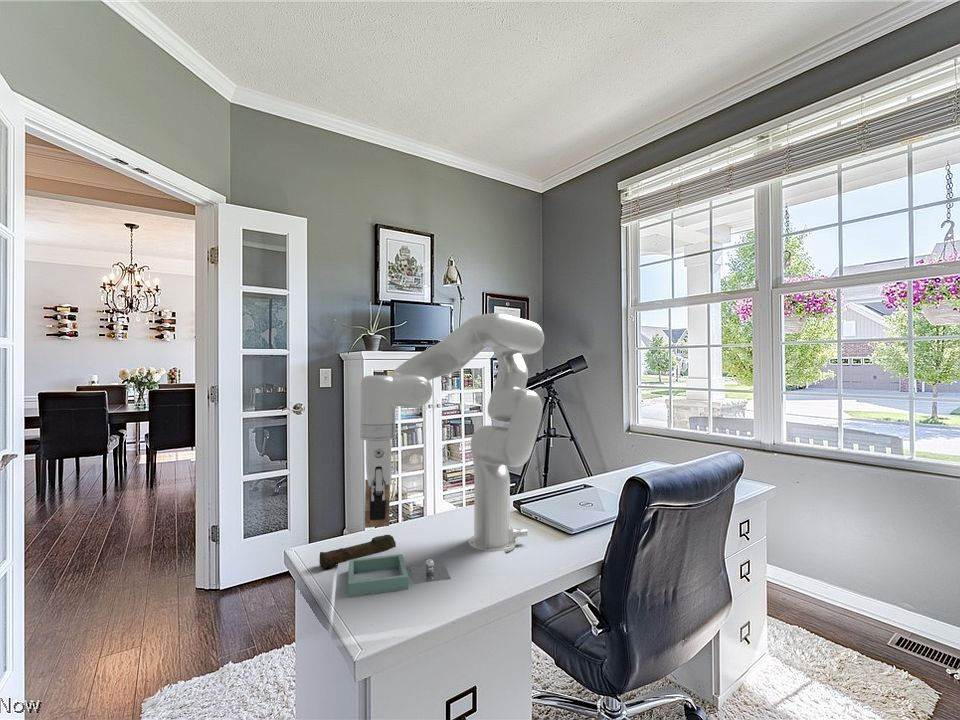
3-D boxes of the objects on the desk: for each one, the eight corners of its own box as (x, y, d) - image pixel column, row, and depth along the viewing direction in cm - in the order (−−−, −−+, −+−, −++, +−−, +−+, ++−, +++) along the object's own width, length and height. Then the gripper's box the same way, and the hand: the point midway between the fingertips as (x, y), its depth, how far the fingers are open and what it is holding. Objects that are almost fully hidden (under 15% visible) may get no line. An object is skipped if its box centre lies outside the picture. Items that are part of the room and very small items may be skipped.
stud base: (443, 567, 106) (443, 550, 106) (450, 583, 98) (450, 564, 98) (409, 571, 103) (409, 554, 104) (414, 588, 96) (414, 569, 96)
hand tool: (322, 573, 103) (322, 552, 104) (318, 566, 107) (318, 546, 107) (399, 555, 114) (399, 536, 114) (393, 549, 117) (393, 531, 117)
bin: (402, 569, 105) (402, 553, 105) (408, 593, 93) (408, 576, 94) (348, 575, 102) (349, 559, 102) (348, 601, 90) (348, 584, 90)
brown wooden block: (387, 518, 101) (388, 478, 101) (388, 526, 96) (389, 483, 96) (364, 520, 99) (365, 479, 100) (364, 527, 95) (365, 484, 95)
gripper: (398, 436, 91) (397, 526, 91) (392, 426, 108) (391, 503, 107) (360, 437, 89) (359, 530, 89) (359, 427, 106) (358, 505, 105)
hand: (376, 514), depth 98 cm, fingers closed on brown wooden block, 5 cm apart
